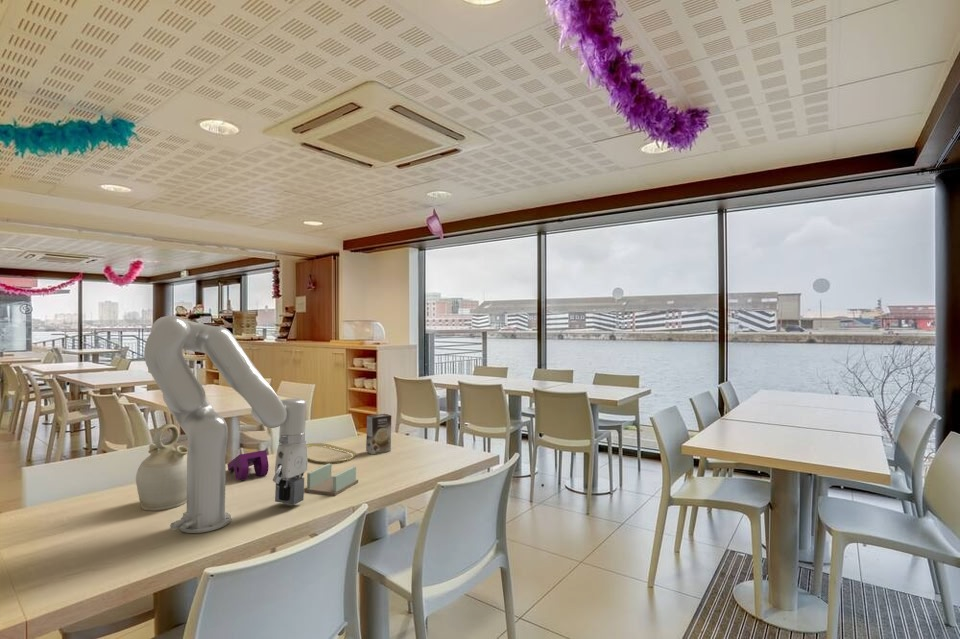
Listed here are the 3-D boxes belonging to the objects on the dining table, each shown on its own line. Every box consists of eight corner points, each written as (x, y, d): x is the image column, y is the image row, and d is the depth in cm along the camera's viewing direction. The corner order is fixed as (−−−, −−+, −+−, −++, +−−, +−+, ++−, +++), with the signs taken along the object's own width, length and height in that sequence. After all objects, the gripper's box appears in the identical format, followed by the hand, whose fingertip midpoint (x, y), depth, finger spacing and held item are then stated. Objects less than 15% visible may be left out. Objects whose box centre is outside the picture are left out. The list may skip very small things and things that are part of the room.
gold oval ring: (327, 468, 191) (327, 464, 191) (279, 452, 212) (279, 449, 212) (364, 457, 206) (364, 454, 206) (317, 444, 227) (317, 441, 227)
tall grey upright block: (293, 504, 148) (294, 481, 148) (274, 501, 150) (276, 478, 150) (303, 500, 152) (304, 477, 152) (285, 497, 154) (286, 474, 154)
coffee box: (372, 455, 209) (372, 417, 209) (365, 451, 214) (366, 415, 214) (391, 451, 215) (391, 415, 215) (384, 448, 220) (384, 413, 220)
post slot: (334, 495, 159) (335, 477, 159) (304, 491, 163) (304, 473, 163) (358, 482, 173) (358, 465, 173) (329, 479, 176) (329, 462, 176)
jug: (203, 501, 154) (204, 422, 154) (148, 517, 141) (149, 431, 141) (180, 491, 162) (181, 417, 162) (126, 505, 150) (127, 424, 150)
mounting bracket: (227, 488, 182) (242, 478, 171) (224, 466, 185) (239, 454, 174) (253, 483, 189) (269, 472, 178) (249, 461, 192) (266, 449, 180)
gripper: (283, 445, 142) (280, 508, 142) (319, 434, 158) (316, 490, 158) (262, 443, 144) (259, 504, 144) (299, 432, 161) (297, 487, 160)
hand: (289, 496), depth 151 cm, fingers closed on tall grey upright block, 4 cm apart
